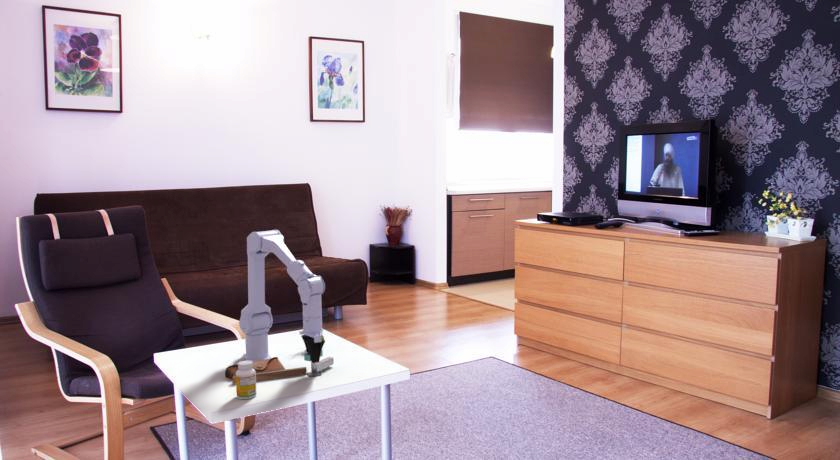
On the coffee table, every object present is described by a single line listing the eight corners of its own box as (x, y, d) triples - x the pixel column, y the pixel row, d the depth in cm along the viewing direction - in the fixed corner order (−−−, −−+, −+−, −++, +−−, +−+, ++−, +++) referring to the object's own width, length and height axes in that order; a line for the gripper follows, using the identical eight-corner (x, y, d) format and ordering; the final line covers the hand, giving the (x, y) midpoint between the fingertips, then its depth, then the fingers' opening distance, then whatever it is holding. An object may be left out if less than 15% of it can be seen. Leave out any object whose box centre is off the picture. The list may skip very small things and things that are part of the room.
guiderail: (232, 382, 198) (232, 376, 198) (305, 373, 207) (305, 366, 207) (233, 384, 197) (233, 377, 197) (306, 374, 206) (306, 367, 206)
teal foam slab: (328, 363, 214) (327, 344, 213) (334, 364, 213) (333, 345, 212) (304, 375, 203) (304, 354, 202) (310, 376, 202) (310, 355, 201)
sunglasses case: (236, 383, 198) (230, 362, 200) (228, 390, 202) (223, 369, 205) (290, 371, 209) (285, 351, 211) (281, 378, 214) (276, 358, 216)
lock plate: (306, 373, 206) (306, 372, 206) (318, 372, 208) (318, 371, 208) (309, 377, 203) (309, 376, 203) (321, 375, 204) (321, 374, 204)
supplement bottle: (238, 393, 189) (237, 360, 188) (257, 392, 190) (256, 359, 189) (235, 400, 184) (233, 365, 183) (254, 399, 184) (253, 364, 183)
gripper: (294, 312, 209) (296, 355, 210) (304, 322, 195) (305, 367, 197) (317, 310, 211) (318, 352, 213) (327, 320, 198) (328, 365, 199)
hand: (313, 359), depth 205 cm, fingers closed on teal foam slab, 5 cm apart
